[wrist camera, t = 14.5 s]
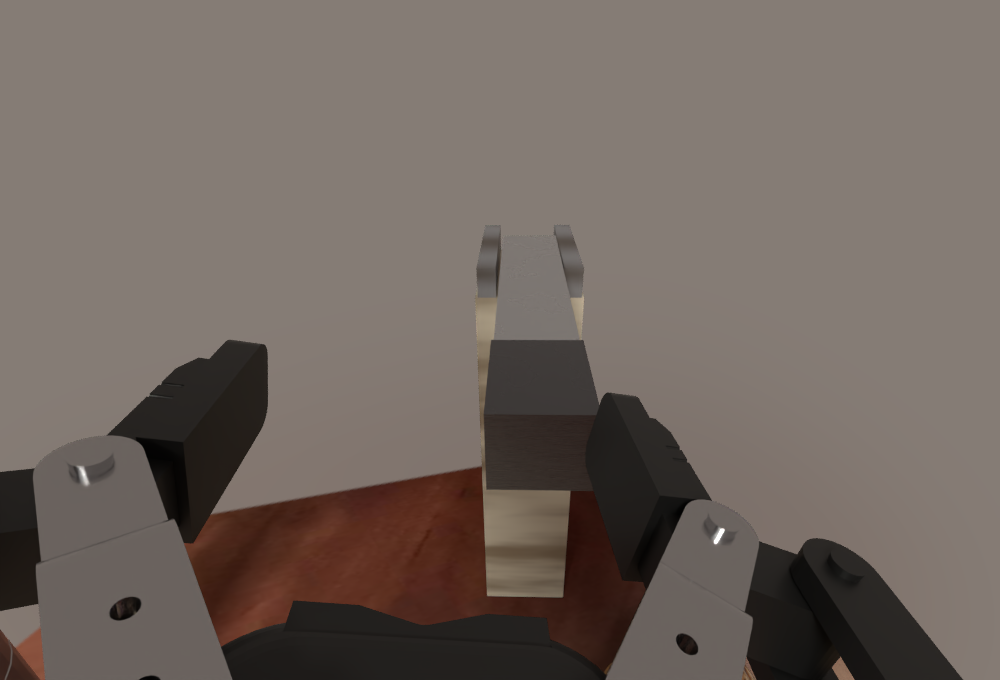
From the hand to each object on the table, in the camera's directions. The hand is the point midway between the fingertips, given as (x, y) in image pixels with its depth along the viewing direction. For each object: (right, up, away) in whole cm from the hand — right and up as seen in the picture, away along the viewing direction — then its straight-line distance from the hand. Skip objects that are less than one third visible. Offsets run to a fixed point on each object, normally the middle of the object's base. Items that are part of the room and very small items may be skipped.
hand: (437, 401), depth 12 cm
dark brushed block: (+3, +1, +14) cm, 14 cm away
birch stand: (+4, -20, +39) cm, 44 cm away
